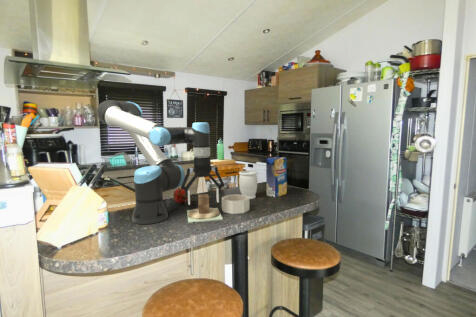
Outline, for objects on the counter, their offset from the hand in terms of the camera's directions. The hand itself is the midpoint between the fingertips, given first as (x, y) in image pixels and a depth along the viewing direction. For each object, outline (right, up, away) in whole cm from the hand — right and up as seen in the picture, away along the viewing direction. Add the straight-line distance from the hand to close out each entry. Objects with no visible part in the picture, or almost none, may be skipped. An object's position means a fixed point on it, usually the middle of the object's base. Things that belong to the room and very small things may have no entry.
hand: (203, 202), depth 125 cm
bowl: (+15, -5, +9) cm, 18 cm away
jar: (+22, -2, +32) cm, 39 cm away
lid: (0, -5, +1) cm, 5 cm away
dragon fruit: (-15, -4, +24) cm, 29 cm away
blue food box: (+39, -1, +37) cm, 54 cm away
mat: (0, -6, +1) cm, 6 cm away
